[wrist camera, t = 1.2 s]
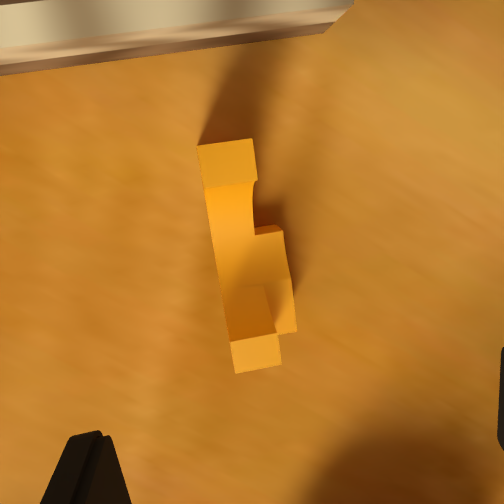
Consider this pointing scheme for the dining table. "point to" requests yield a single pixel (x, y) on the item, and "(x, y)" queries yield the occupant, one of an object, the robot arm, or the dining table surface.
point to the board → (146, 28)
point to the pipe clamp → (246, 257)
